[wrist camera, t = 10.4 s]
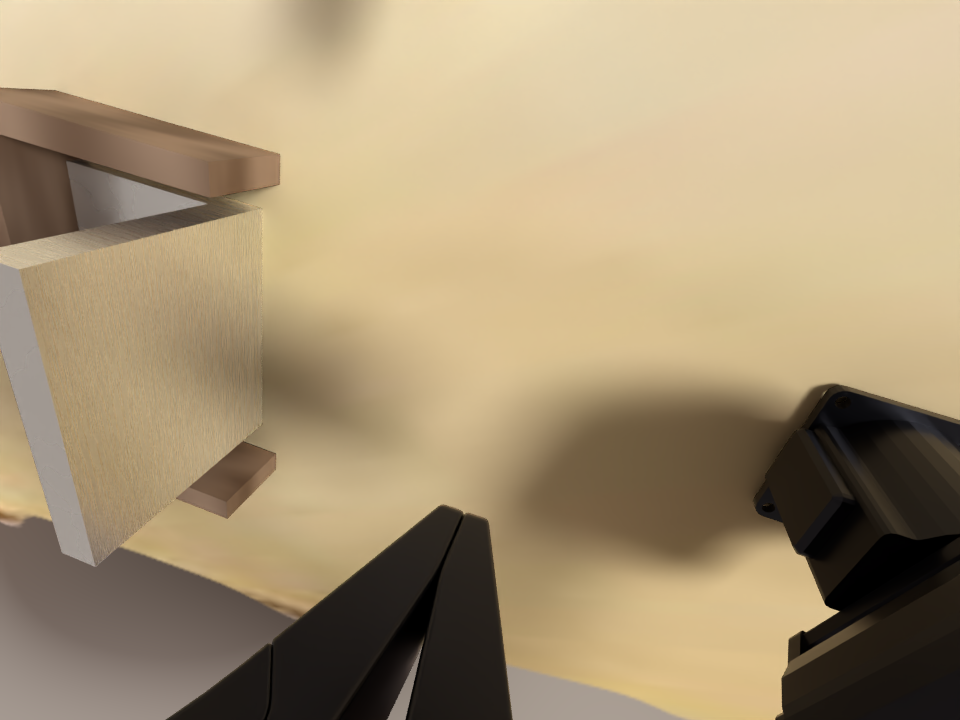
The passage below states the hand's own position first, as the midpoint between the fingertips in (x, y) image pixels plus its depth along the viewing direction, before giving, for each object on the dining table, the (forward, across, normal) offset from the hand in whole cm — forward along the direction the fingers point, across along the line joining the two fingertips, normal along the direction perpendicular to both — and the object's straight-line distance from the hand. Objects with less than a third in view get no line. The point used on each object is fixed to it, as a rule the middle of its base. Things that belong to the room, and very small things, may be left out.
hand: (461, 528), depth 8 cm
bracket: (+13, +18, +6) cm, 23 cm away
